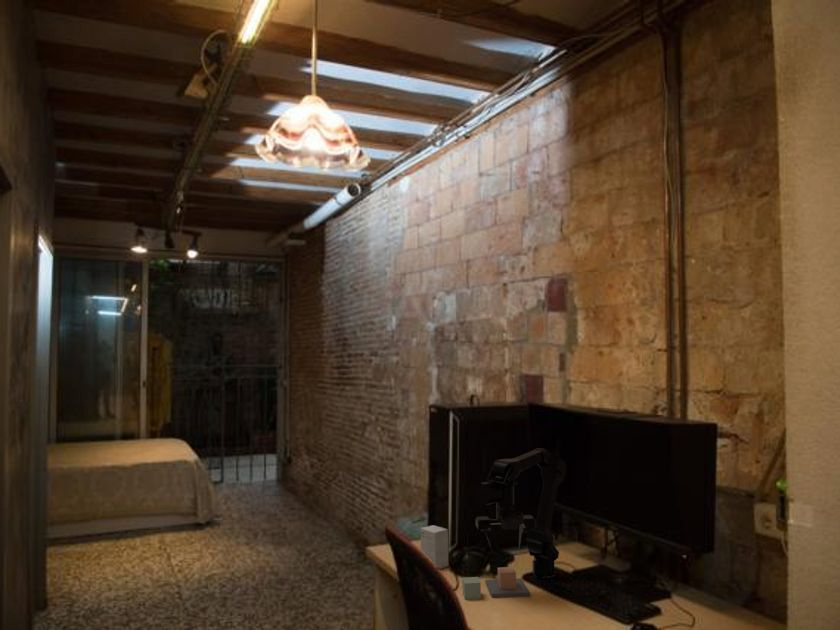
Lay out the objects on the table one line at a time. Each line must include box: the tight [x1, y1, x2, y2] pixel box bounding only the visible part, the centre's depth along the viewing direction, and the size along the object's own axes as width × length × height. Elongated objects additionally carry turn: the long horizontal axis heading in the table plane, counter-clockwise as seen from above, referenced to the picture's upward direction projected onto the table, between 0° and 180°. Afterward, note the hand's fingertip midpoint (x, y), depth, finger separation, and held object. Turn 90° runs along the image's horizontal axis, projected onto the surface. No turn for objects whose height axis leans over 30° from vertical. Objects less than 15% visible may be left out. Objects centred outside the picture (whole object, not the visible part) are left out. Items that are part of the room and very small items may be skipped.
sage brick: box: [461, 576, 482, 601], centre depth 202 cm, size 5×5×5 cm
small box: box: [420, 524, 449, 570], centre depth 231 cm, size 8×6×13 cm
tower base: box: [484, 577, 531, 599], centre depth 207 cm, size 12×12×1 cm
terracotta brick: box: [497, 566, 517, 589], centre depth 207 cm, size 5×5×5 cm
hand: (506, 549), depth 208 cm, fingers open, 9 cm apart
